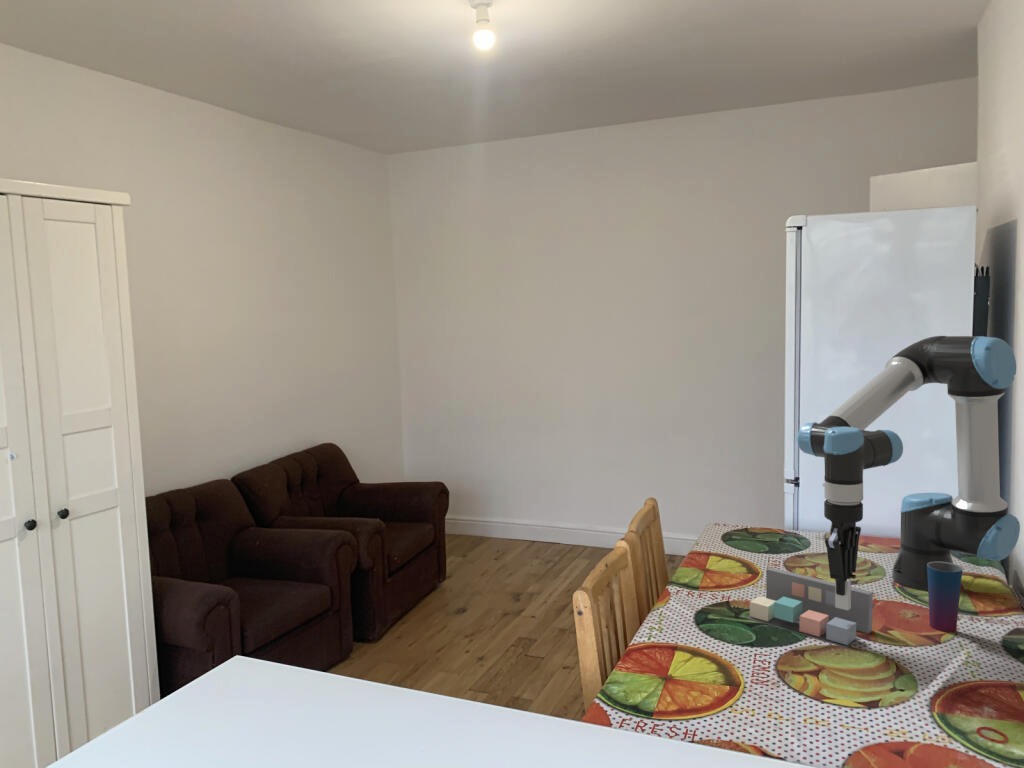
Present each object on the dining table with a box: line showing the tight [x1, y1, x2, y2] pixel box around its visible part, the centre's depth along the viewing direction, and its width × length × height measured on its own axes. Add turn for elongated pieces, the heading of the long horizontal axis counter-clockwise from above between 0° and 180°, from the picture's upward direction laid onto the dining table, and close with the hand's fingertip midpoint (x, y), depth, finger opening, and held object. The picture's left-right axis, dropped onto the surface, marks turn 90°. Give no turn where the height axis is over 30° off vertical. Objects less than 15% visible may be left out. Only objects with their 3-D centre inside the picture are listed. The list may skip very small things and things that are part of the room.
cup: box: [927, 561, 963, 634], centre depth 168 cm, size 7×7×15 cm
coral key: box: [799, 610, 829, 637], centre depth 168 cm, size 4×4×4 cm
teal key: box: [774, 597, 802, 622], centre depth 172 cm, size 4×4×4 cm
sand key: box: [749, 595, 775, 622], centre depth 177 cm, size 4×4×4 cm
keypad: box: [747, 567, 874, 649], centre depth 171 cm, size 16×24×10 cm, turn 44°
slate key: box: [826, 617, 857, 645], centre depth 164 cm, size 4×4×4 cm
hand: (843, 607), depth 164 cm, fingers closed
